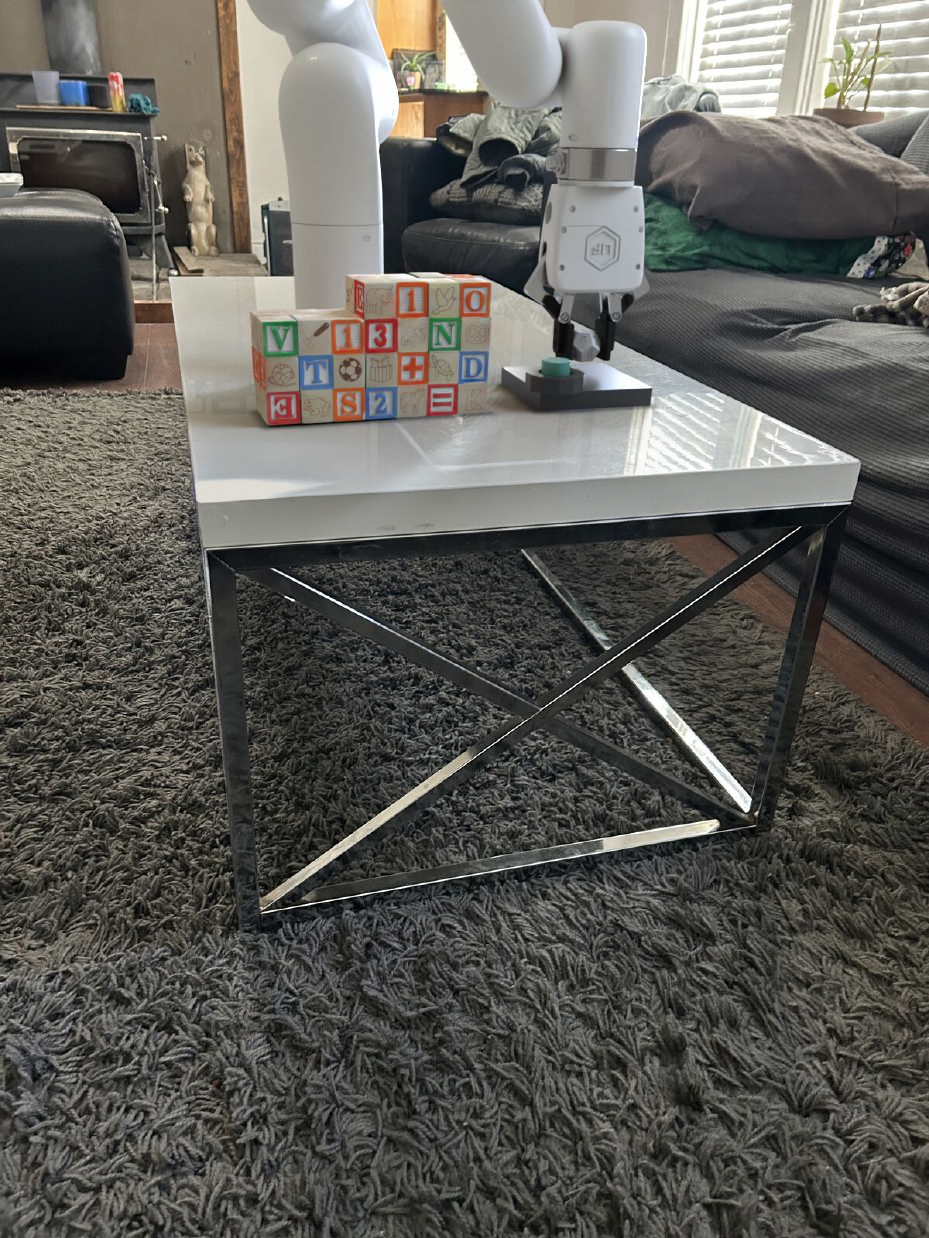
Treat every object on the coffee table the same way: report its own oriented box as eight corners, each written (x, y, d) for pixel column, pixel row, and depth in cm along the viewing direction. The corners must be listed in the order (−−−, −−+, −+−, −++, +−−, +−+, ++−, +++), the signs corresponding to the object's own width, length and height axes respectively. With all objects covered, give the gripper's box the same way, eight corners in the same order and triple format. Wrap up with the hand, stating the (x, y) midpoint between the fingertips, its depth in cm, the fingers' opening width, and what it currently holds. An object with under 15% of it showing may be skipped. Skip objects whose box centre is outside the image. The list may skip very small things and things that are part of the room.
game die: (577, 364, 100) (579, 335, 98) (559, 357, 103) (561, 329, 101) (605, 362, 101) (608, 333, 100) (587, 355, 104) (589, 327, 103)
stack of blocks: (266, 428, 86) (257, 284, 80) (255, 411, 91) (245, 275, 85) (488, 413, 93) (493, 279, 87) (465, 398, 98) (469, 271, 92)
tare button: (547, 379, 92) (548, 363, 92) (536, 373, 95) (537, 357, 94) (573, 378, 93) (575, 362, 92) (563, 372, 95) (564, 356, 95)
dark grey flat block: (536, 416, 92) (538, 379, 91) (493, 385, 104) (494, 352, 102) (656, 410, 96) (660, 374, 94) (602, 380, 107) (605, 348, 105)
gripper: (530, 169, 88) (520, 370, 97) (691, 172, 93) (668, 363, 101) (504, 167, 95) (497, 355, 103) (655, 170, 99) (637, 350, 107)
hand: (582, 357), depth 102 cm, fingers closed on game die, 3 cm apart
